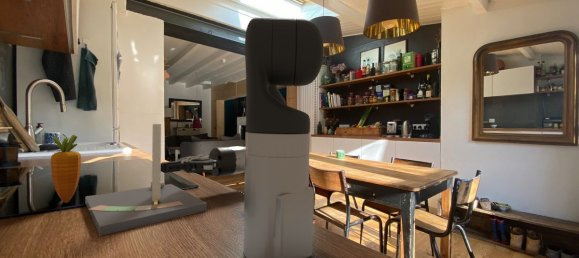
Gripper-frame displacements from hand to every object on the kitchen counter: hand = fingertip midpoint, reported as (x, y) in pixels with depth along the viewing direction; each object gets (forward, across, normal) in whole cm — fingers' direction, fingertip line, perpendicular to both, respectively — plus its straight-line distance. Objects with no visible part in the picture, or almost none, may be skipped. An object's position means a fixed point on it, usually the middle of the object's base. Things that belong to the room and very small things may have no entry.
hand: (161, 167), depth 56 cm
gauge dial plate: (+3, 0, +8) cm, 9 cm away
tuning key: (+1, -1, +6) cm, 6 cm away
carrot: (+16, -13, +8) cm, 22 cm away
